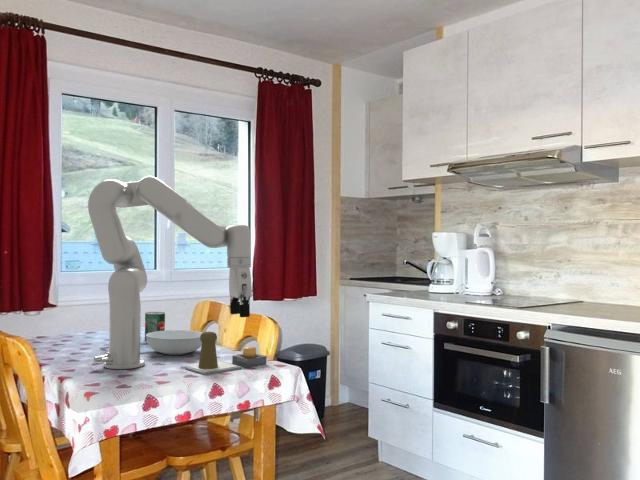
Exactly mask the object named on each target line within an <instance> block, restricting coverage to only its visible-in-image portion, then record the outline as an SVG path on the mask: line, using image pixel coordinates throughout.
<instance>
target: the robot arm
mask: <svg viewBox="0 0 640 480" xmlns="http://www.w3.org/2000/svg"><path fill="white" fill-rule="evenodd" d="M142 206H150V207H151V208H153V209H154V210H156V211H157V212H159V214H161V215H162V216H164V217H165V218H166V219H168V220H169V221H170V222H172V223H173V224H174V225H175V226H177V227H179V228H180V229H182V231H184V232H186V233H187V234H188V235H190V236H191V237H192V238H194V239H195V240H196V241H198V242H199V243H201V244H202V245H203V246H205V247H207V248H212V249H218V248H224V247H226V259H227V260H226V262H227V264H226V265H227V269H229V275H228V276H229V277H228V290H229V291H228V293H229V296H230V297H229V301H230V302H229V305H230V306H229V311H230V312H229V313H230V315H238V314H239V318H247V317H248V318H250V317H251V316H250V315H251V313H250V312H251V311H250V310H251V309H250V308H251V307H250V305H251V302H250V299H251V297H252V296H253V290H252V276H251V275H252V274H251V266H252V265H251V231H250V227H249V226H248V225H246V224H234V225H233V224H231V225H228V226H224V225H219V224H216V223H215V222H214V221H212V220H211V219H209V218H208V217H206V216H205V215H204V214H202V213H201V212H200V211H199V210H197V209H196V207H194V206H193V205H192V203H191V202H190V201H189V200H188V199H186V198H185V197H183V196H182V195H181V194H179V193H178V192H177V191H175V190H174V189H173V188H171V187H170V186H169V185H167V184H166V183H165V182H164V181H163V180H161V179H159V178H157V177H155V176H152V175H147V176H144V177H142V178H141V179H140V180H137V181H128V182H127V181H126V182H123V181H120V180H118V179H112V178H110V179H105V180H102V181H100V183H98V184H97V185H95V187H94V188H93V189H92V191H91V192H90V193H89V196H88V202H87V209H88V215H89V218H90V221H91V224H92V228H93V230H94V234H95V235H94V236H95V238H96V241H97V245H98V246H99V251H100V254H101V257H102V259H103V260H104V261H105V262H106V263H107V264H110V265H113V268H114V271H113V272H112V274H111V275H110V276H109V279H108V285H107V289H108V290H107V291H108V299H109V331H108V332H109V335H108V337H109V339H108V340H109V341H108V344H109V345H108V351H106V352H105V354H103V355H97V356H93V362H94V363H95V364H96V363H97V364H98V363H103V367H104V368H106V369H111V370H129V369H136V368H141V367H143V366H144V365H146V361H145V360H144V359H142V358H141V327H142V326H141V325H142V324H141V321H142V320H141V318H142V317H141V314H142V313H141V311H142V310H141V308H142V307H141V305H142V304H141V297H140V296H141V295H140V293H142V292H143V291H144V290H145V289H146V287H147V284H148V275H147V271H146V268H145V266H144V262H143V259H142V256H141V254H140V250H139V248H138V245H137V243H136V242H135V240H134V239H133V238H131V237H129V236H127V235H126V234H125V231H124V229H123V226H122V221H121V219H120V217H119V215H118V213H117V208H122V209H123V208H132V207H142Z"/></svg>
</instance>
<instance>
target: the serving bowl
mask: <svg viewBox="0 0 640 480" xmlns="http://www.w3.org/2000/svg"><path fill="white" fill-rule="evenodd" d="M202 333H203V331H198V330H197V331H196V330H189V329H188V330H187V329H185V330H182V329H181V330H180V329H178V330H177V329H174V330H173V329H171V330H166V329H165V331H156V332H151V333H148V334H146V340H147V341H146V342H147V345H148V347H149V348H150V349H152V351H155V352H157V353H161V354H164V355H166V356H167V355H168V356H181V355H182V356H183V355H186V354H189V353H192V352H195V351H197V350H199V349H201V346H202V342H201V340H200V336H201V334H202Z"/></svg>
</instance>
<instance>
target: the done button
mask: <svg viewBox="0 0 640 480" xmlns="http://www.w3.org/2000/svg"><path fill="white" fill-rule="evenodd" d="M242 354H243V357H246V358H252V357H256V354H257V347H256V346H244V347H242Z"/></svg>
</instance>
